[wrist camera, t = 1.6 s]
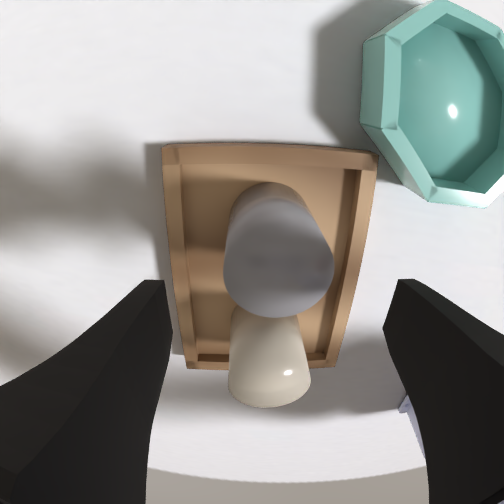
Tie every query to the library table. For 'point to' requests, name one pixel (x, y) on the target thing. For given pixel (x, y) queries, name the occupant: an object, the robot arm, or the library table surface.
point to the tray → (216, 226)
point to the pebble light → (266, 360)
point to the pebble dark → (275, 253)
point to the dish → (438, 102)
